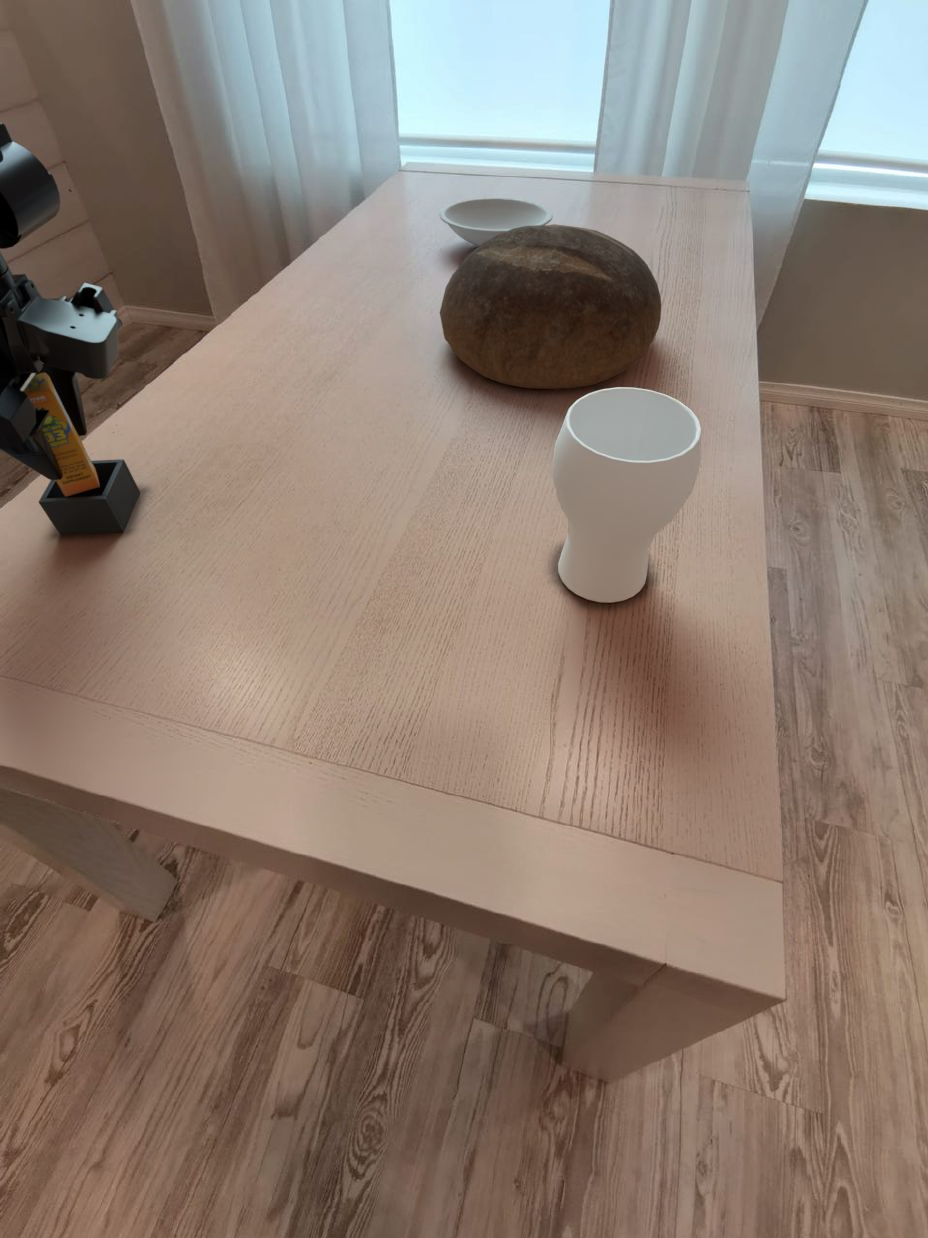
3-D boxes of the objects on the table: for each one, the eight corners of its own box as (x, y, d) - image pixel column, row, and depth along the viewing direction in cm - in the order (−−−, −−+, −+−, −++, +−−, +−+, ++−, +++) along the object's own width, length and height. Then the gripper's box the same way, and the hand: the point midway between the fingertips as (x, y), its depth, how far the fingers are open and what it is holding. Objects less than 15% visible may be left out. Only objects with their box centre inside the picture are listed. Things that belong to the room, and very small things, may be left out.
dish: (554, 234, 108) (557, 199, 104) (544, 269, 99) (547, 233, 95) (450, 228, 110) (449, 194, 107) (431, 262, 101) (430, 227, 97)
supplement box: (64, 499, 59) (5, 397, 51) (60, 480, 61) (2, 379, 54) (103, 488, 60) (50, 386, 53) (97, 470, 62) (46, 369, 55)
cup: (517, 576, 57) (527, 428, 46) (585, 515, 62) (609, 368, 51) (621, 637, 53) (661, 489, 41) (685, 565, 58) (736, 416, 46)
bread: (608, 421, 72) (629, 301, 62) (405, 364, 81) (395, 251, 71) (679, 324, 87) (705, 214, 77) (500, 284, 96) (503, 181, 86)
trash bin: (123, 531, 62) (105, 498, 59) (59, 535, 62) (38, 502, 59) (140, 491, 66) (123, 458, 63) (80, 494, 66) (61, 461, 63)
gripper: (30, 332, 41) (131, 520, 53) (115, 222, 53) (182, 395, 65) (-150, 340, 41) (-8, 527, 53) (-23, 227, 53) (69, 400, 65)
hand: (69, 455), depth 59 cm, fingers open, 6 cm apart
